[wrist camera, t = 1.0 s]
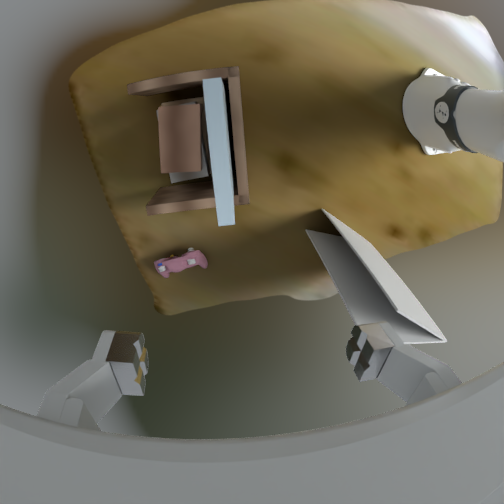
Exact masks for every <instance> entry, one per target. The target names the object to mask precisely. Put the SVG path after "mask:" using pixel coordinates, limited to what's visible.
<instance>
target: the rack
mask: <svg viewBox="0 0 504 504" xmlns="http://www.w3.org/2000/svg"><path fill="white" fill-rule="evenodd" d="M219 77H221V78H222V82H223V84H229V95H230V107H231V119H232V130H233V142H234V153H235V164H236V175H237V178H235V179H233V191H234V205H244V204H250V203H249V190H248V177H247V165H246V152H245V140H244V127H243V115H242V102H241V90H240V77H239V66H236V67H224V68H215V69H206V70H199V71H192V72H185V73H179V74H173V75H168V76H163V77H158V78H153V79H148V80H144V81H139V82H135V83H131V84H127V88H128V94H130V95H143V96H150V95H154V94H159V93H165V92H170V91H176V90H182V89H188V88H195V87H202V86H203V79H211V78H219ZM203 97H204V90H203ZM204 107H205V101H204ZM205 118H206V111H205ZM206 127H207V122H206ZM207 137H208V131H207ZM208 146H209V141H208ZM209 156H210V150H209ZM210 164H211V159H210ZM211 173H212V168H211ZM214 207H216V202H215V194H214V185H213V177H212V181H207V182H198V183H190V184H182V185H175V186H168V187H161V188H160V189H159V190H158V191H157V192H156V194H155V195H154V196H153V198H152V199H151V200H150V201H149V203H148V204H147V205H146V210H147V214H148V215H156V214H163V213H171V212H179V211H188V210H196V209H205V208H214Z"/></svg>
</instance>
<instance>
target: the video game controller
mask: <svg viewBox="0 0 504 504" xmlns="http://www.w3.org/2000/svg"><path fill="white" fill-rule="evenodd" d="M192 249H193V248H188V249H187V250H189V251H188V252H186V253H185V254H182V257H178V256H174V255H171V256H170V257H169V258H162V259H159V260H157V261H155V262H154V265H155V268H156V270H157V272H158V273H160V274H161V275H162V276H163V277H165V278H168V277H169V272H180V271H182V270H184V269H185V268H189V267H192V266H195V265H200V266H201V267H202V268H207V265H208V263H207V259H206V257H205V256H204V254H203V253H201V252H200V250H192Z"/></svg>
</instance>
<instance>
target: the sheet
mask: <svg viewBox="0 0 504 504" xmlns="http://www.w3.org/2000/svg"><path fill="white" fill-rule="evenodd" d="M203 90H204V101H205V111H206V122H207V131H208V141H209V150H210V159H211V168H212V177H213V185H214V194H215V202H216V210H217V218H218V225H219V226H224V225H234V224H235V213H234V191H233V169H232V159H231V148H230V137H229V126H228V114H227V103H226V92H225V89H224V85H223V82H222V78H221V77H219V78H211V79H203Z"/></svg>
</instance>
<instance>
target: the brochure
mask: <svg viewBox="0 0 504 504" xmlns="http://www.w3.org/2000/svg"><path fill="white" fill-rule="evenodd" d="M321 210H322V211H323V212H324V213H325V215H326V216H327V217H328V218H329V220H330V221H331V222H332V224H333V225H334V226H335V227H336V229H337V230H338V231H339V232H340V234H341V235H342V236H343V237H341V236H336V235H331V234H327V233H322V232H317V231H312V230H307V229H306V233H307V234H308V236H309V238H310V240H311V242H312V243H313V245H314V247H315V249H316V251H317V253H318V254H319V256H320V258H321V260H322V262H323V264H324V265H325V267H326V269H327V271H328V273H329V275H330V277H331V279H332V281H333V282H334V284H335V286H336V288H337V290H338V292H339V294H340V296H341V298H342V300H343V302H344V304H345V306H346V308H347V310H348V312H349V314H350V316H351V318H352V320H353V322H354V324H355V325H361V324H369V323H376V322H382V321H387V322H388V323H389V324H390V325H391V327H392V328H393V329H394V330H395V332H396V333H397V334H398V336H399V337H400V338H401V340H402V341H403V342H404V344H405V345H406V344H409V345H410V344H419V343H441V342H446V341H447V340H446V338H445V337H444V335H443V334H442V333H441V331H440V330H439V328H438V327H437V325H436V324H435V323H434V321H433V320H432V319H431V317H430V316H429V315H428V313H427V312H426V311H425V309H424V308H423V307H422V305H421V304H420V303H419V301H418V300H417V299H416V297H415V296H414V295H413V294H412V292H411V291H410V290H409V289H408V287H407V286H406V285H405V284H404V282H403V281H402V280H401V279H400V277H399V276H398V275H397V274H396V273H395V271H394V270H393V269H392V268H391V267H390V265H389V264H388V263H387V262H386V261H385V259H384V258H383V257H382V256H381V255H380V254H379V252H378V251H377V250H376V249H375V248H374V247H373V246H372V244H371V243H370V242H368V241H367V240H366V239H364V238H363V237H362V236H360V235H359V234H358V233H356V232H355V231H353V230H352V229H351V228H349V227H348V226H347V225H345V224H344V223H342V222H341V221H340V220H338V219H337V218H335V217H334V216H332V215H331V214H330V213H328V212H327V211H325V210H324V209H321Z"/></svg>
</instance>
